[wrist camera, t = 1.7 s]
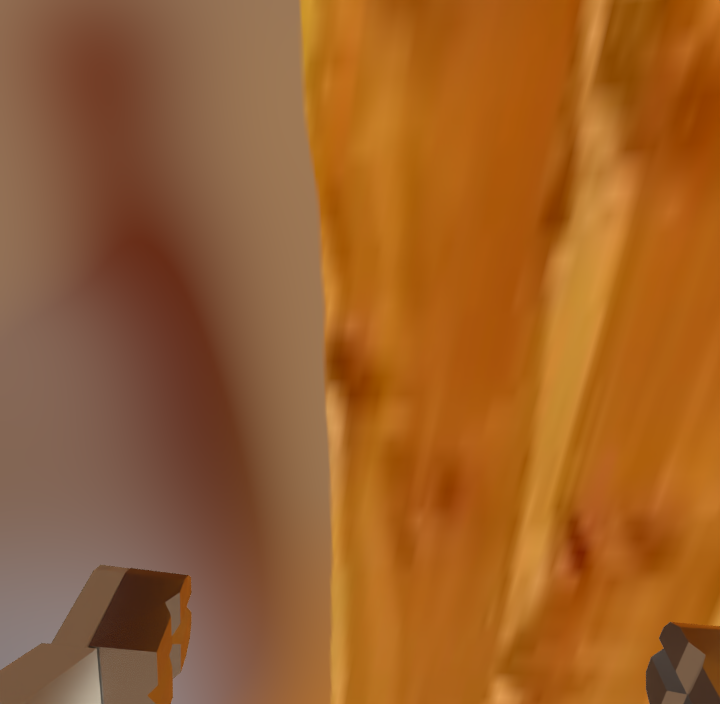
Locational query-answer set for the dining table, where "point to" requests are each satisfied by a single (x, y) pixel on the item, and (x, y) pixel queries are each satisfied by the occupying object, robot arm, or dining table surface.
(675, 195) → the dining table surface
